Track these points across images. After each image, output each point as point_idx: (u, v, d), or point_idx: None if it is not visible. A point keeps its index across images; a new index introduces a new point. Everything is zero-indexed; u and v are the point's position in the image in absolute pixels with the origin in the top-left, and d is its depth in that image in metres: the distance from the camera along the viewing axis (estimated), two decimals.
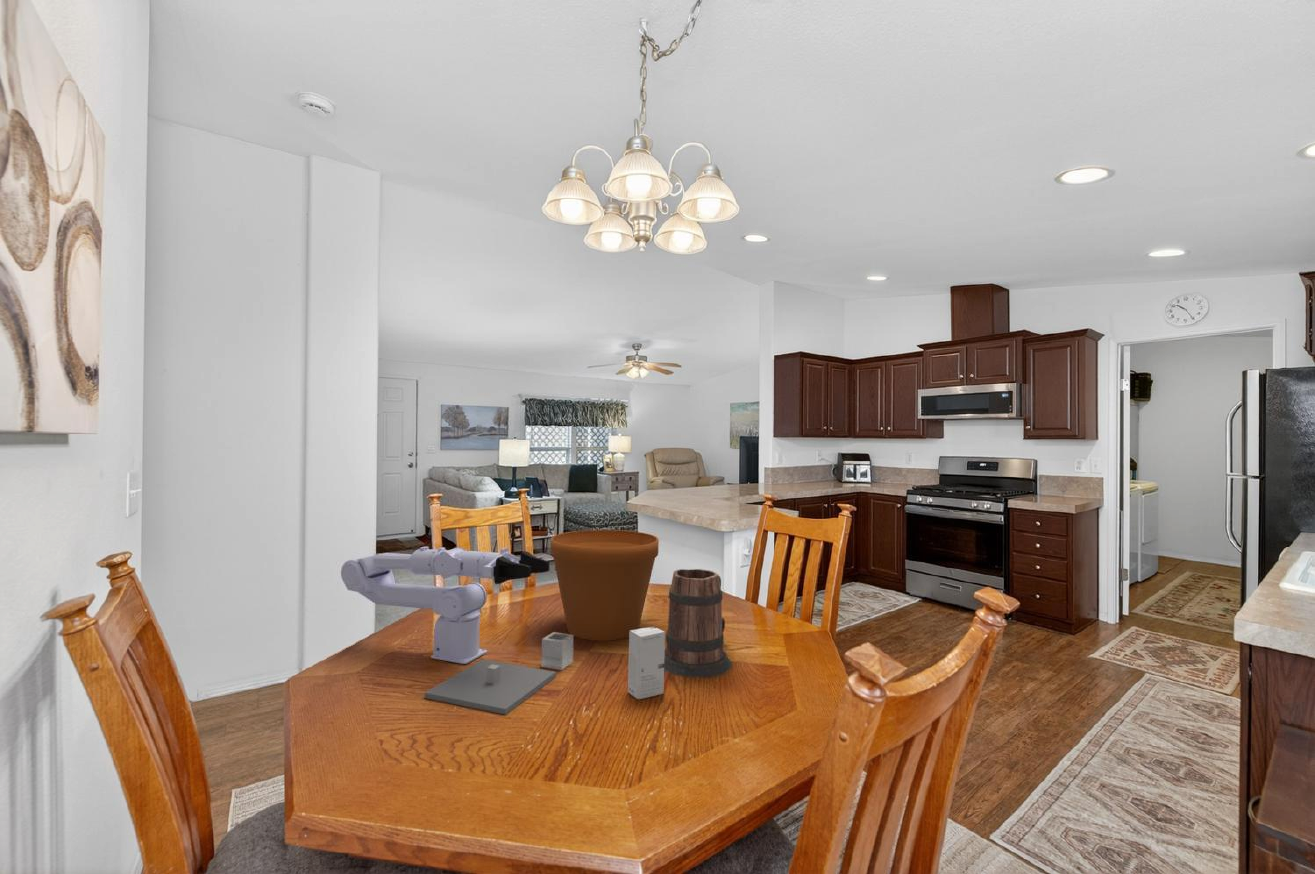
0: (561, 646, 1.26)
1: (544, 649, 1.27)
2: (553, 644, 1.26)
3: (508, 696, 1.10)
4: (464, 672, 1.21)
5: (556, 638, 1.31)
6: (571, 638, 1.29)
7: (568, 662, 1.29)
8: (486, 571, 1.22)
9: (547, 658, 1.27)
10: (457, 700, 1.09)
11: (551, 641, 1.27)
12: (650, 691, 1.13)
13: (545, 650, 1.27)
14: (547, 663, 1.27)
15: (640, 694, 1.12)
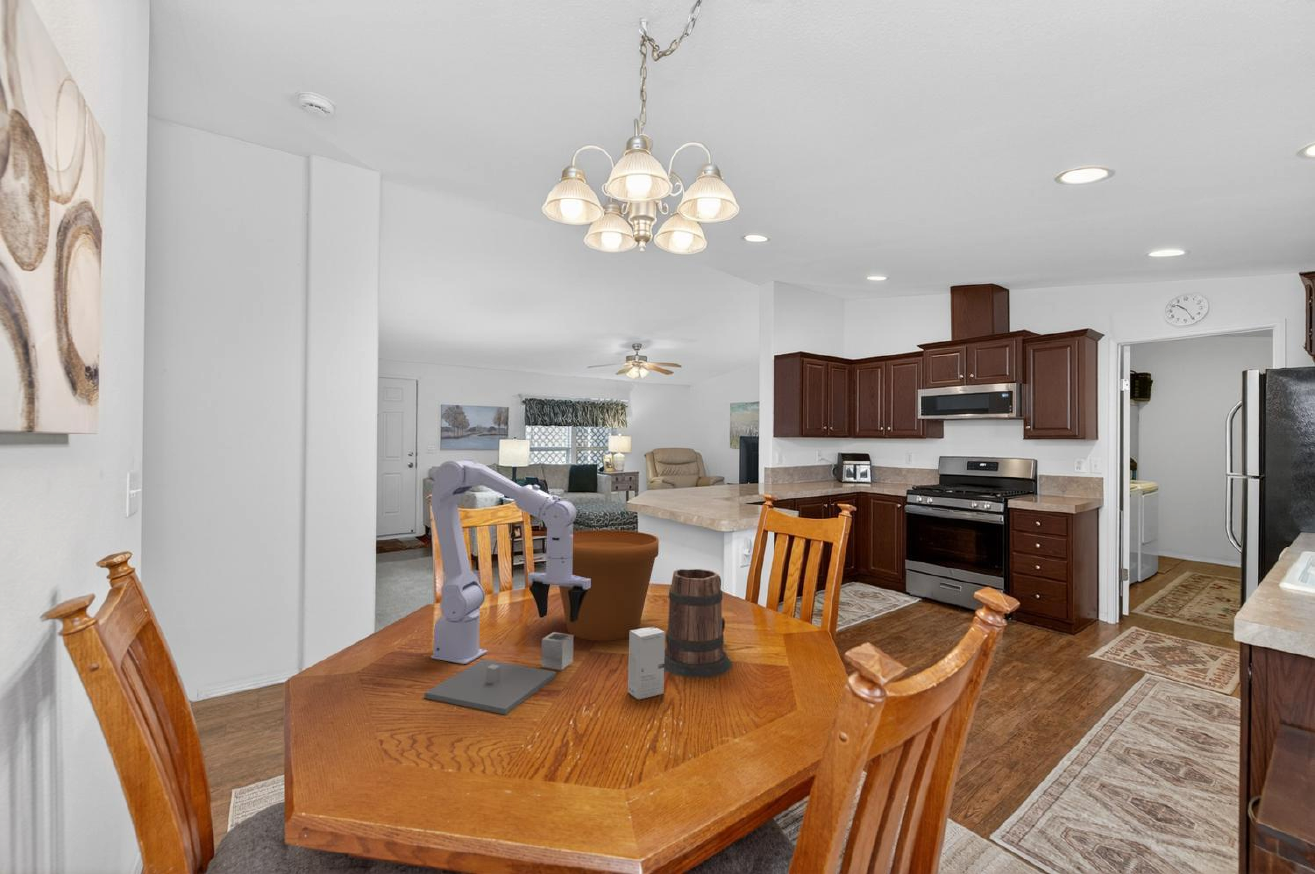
0: (561, 646, 1.26)
1: (544, 649, 1.27)
2: (553, 644, 1.26)
3: (508, 696, 1.10)
4: (464, 672, 1.21)
5: (556, 638, 1.31)
6: (571, 638, 1.29)
7: (568, 662, 1.29)
8: (589, 584, 1.26)
9: (547, 658, 1.27)
10: (457, 700, 1.09)
11: (551, 641, 1.27)
12: (650, 691, 1.13)
13: (545, 650, 1.27)
14: (547, 663, 1.27)
15: (640, 694, 1.12)
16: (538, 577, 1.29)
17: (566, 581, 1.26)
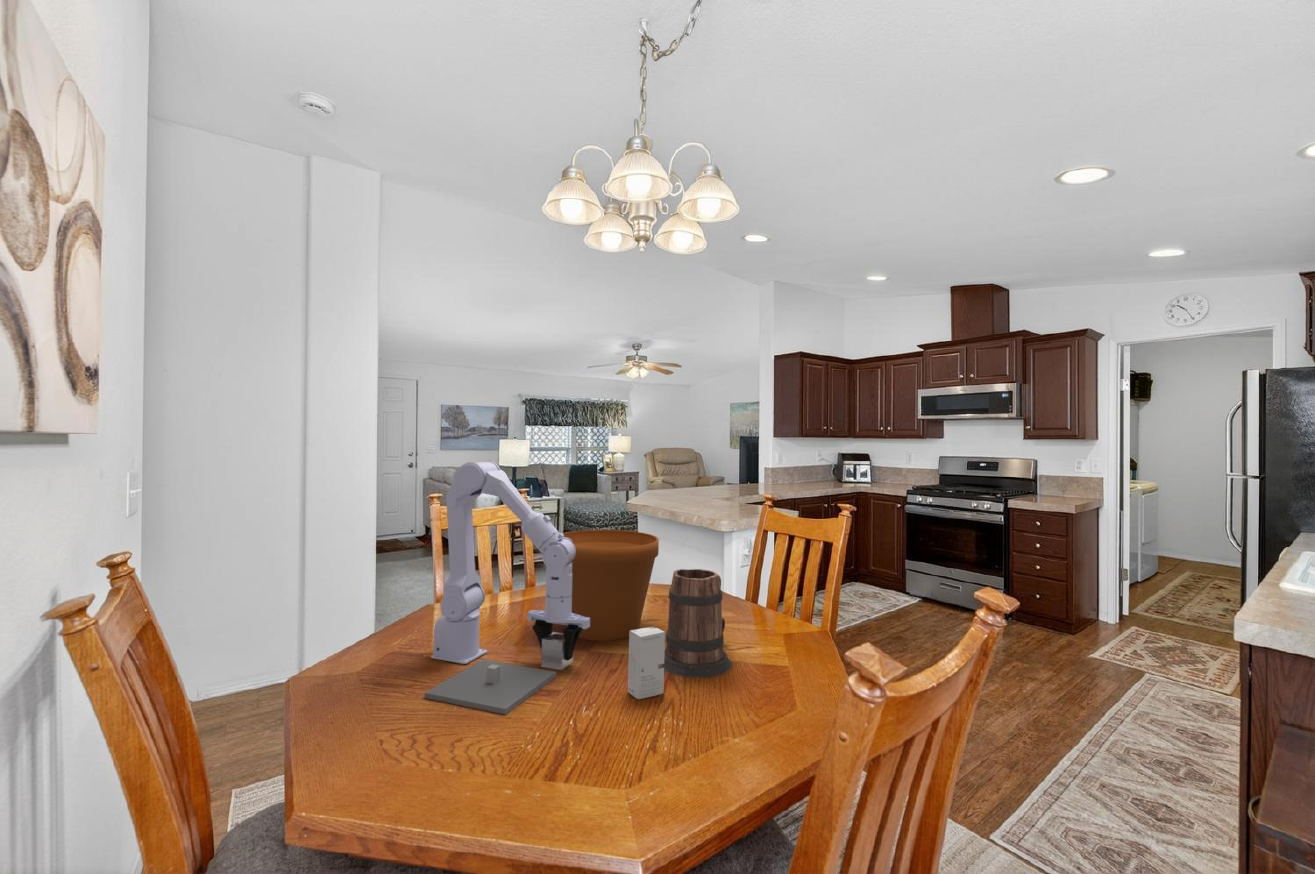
0: (561, 646, 1.26)
1: (544, 649, 1.27)
2: (553, 644, 1.26)
3: (508, 696, 1.10)
4: (464, 672, 1.21)
5: (556, 638, 1.31)
6: None
7: (568, 662, 1.29)
8: (588, 623, 1.26)
9: (547, 658, 1.27)
10: (457, 700, 1.09)
11: (551, 641, 1.27)
12: (650, 691, 1.13)
13: (545, 650, 1.27)
14: (547, 663, 1.27)
15: (640, 694, 1.12)
16: (537, 616, 1.29)
17: (565, 620, 1.26)
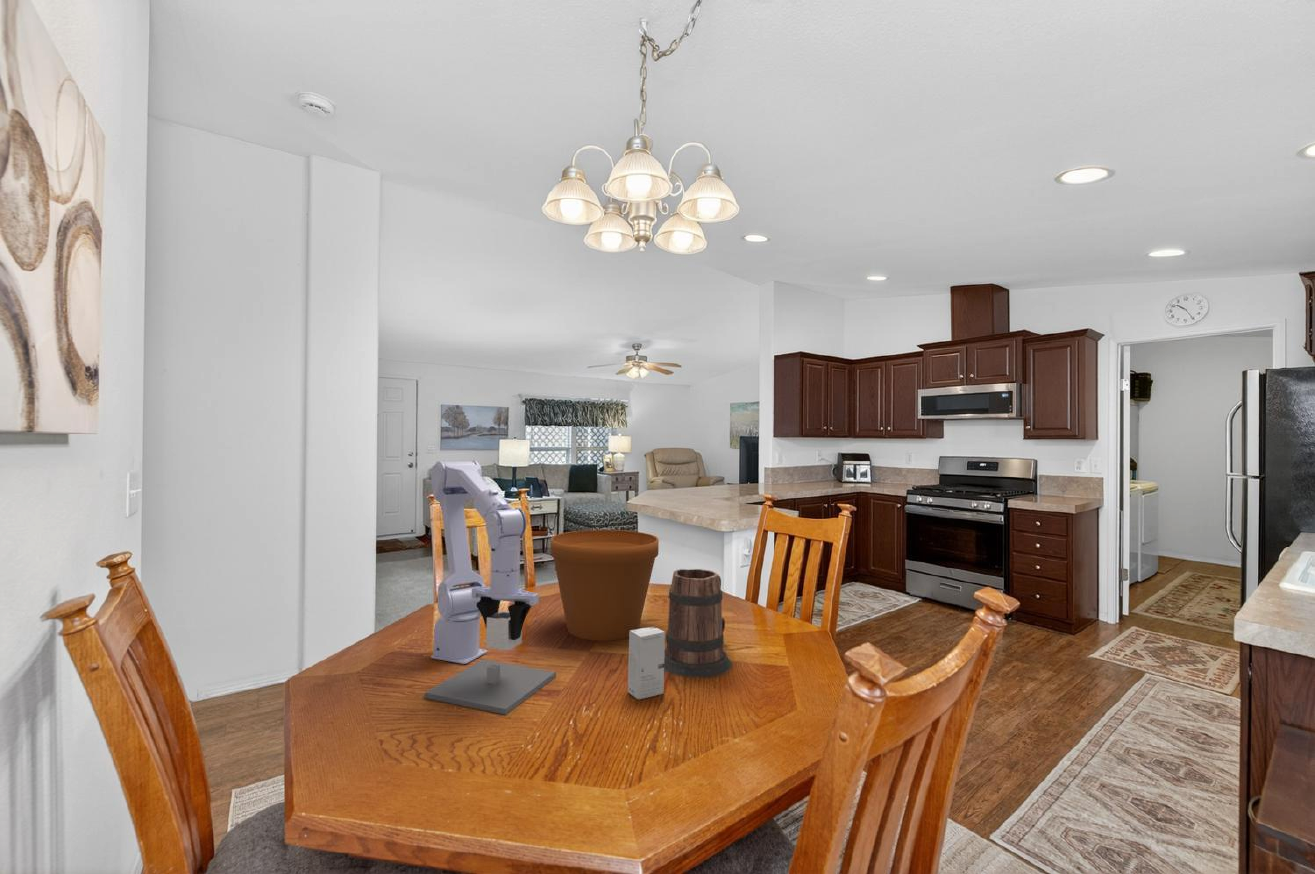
0: (507, 625, 1.15)
1: (489, 628, 1.17)
2: (498, 622, 1.16)
3: (508, 696, 1.10)
4: (464, 672, 1.21)
5: (504, 617, 1.21)
6: None
7: (516, 642, 1.18)
8: (536, 599, 1.16)
9: (492, 638, 1.17)
10: (457, 700, 1.09)
11: (496, 619, 1.16)
12: (650, 691, 1.13)
13: (490, 629, 1.17)
14: (492, 643, 1.16)
15: (640, 694, 1.12)
16: (482, 592, 1.18)
17: (511, 596, 1.15)
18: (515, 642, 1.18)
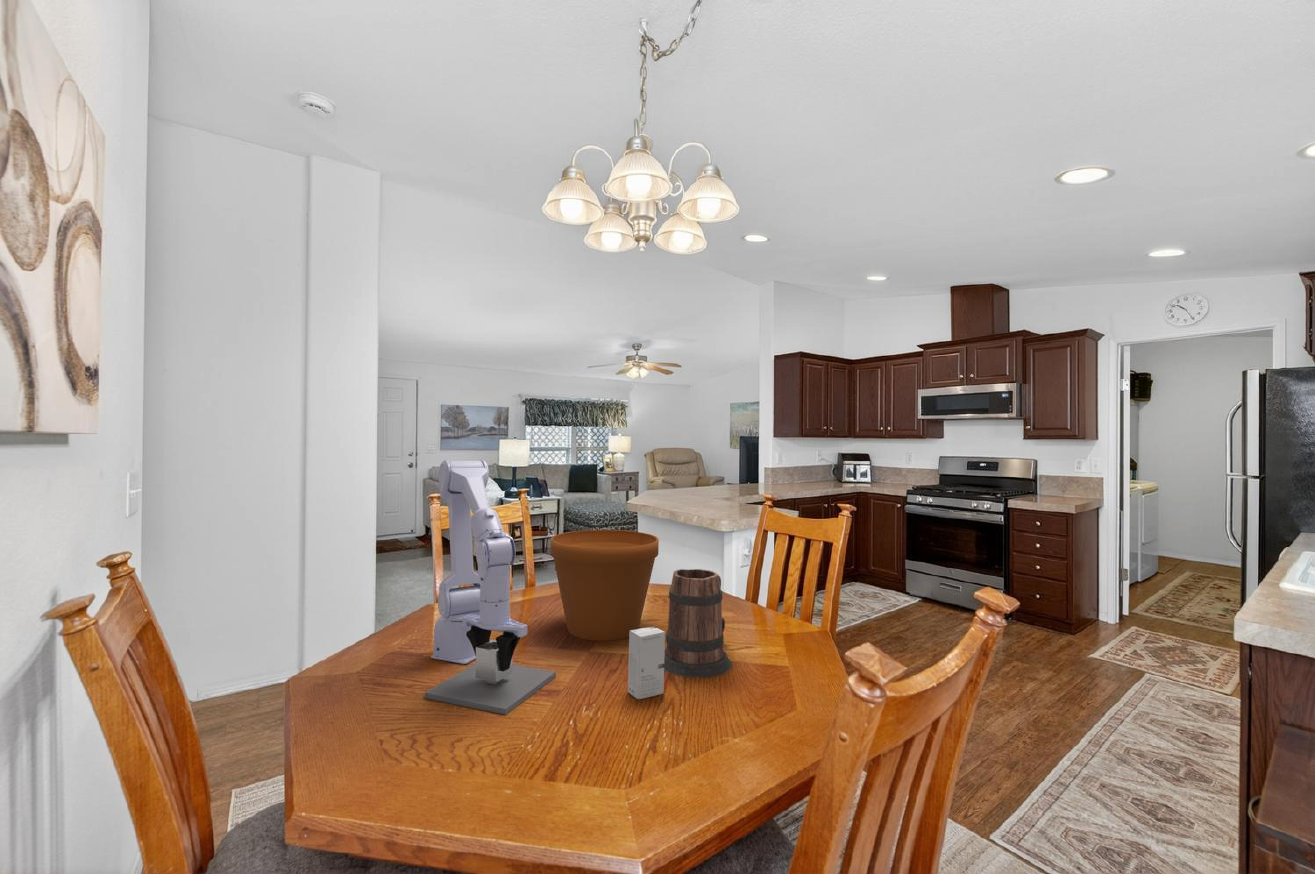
0: (495, 656, 1.14)
1: (478, 658, 1.15)
2: (487, 653, 1.14)
3: (508, 696, 1.10)
4: (464, 672, 1.21)
5: (494, 646, 1.19)
6: None
7: (506, 673, 1.16)
8: (524, 630, 1.14)
9: (481, 669, 1.15)
10: (457, 700, 1.09)
11: (485, 650, 1.15)
12: (650, 691, 1.13)
13: (479, 660, 1.15)
14: (481, 674, 1.15)
15: (640, 694, 1.12)
16: (472, 621, 1.17)
17: (499, 627, 1.14)
18: (504, 673, 1.16)
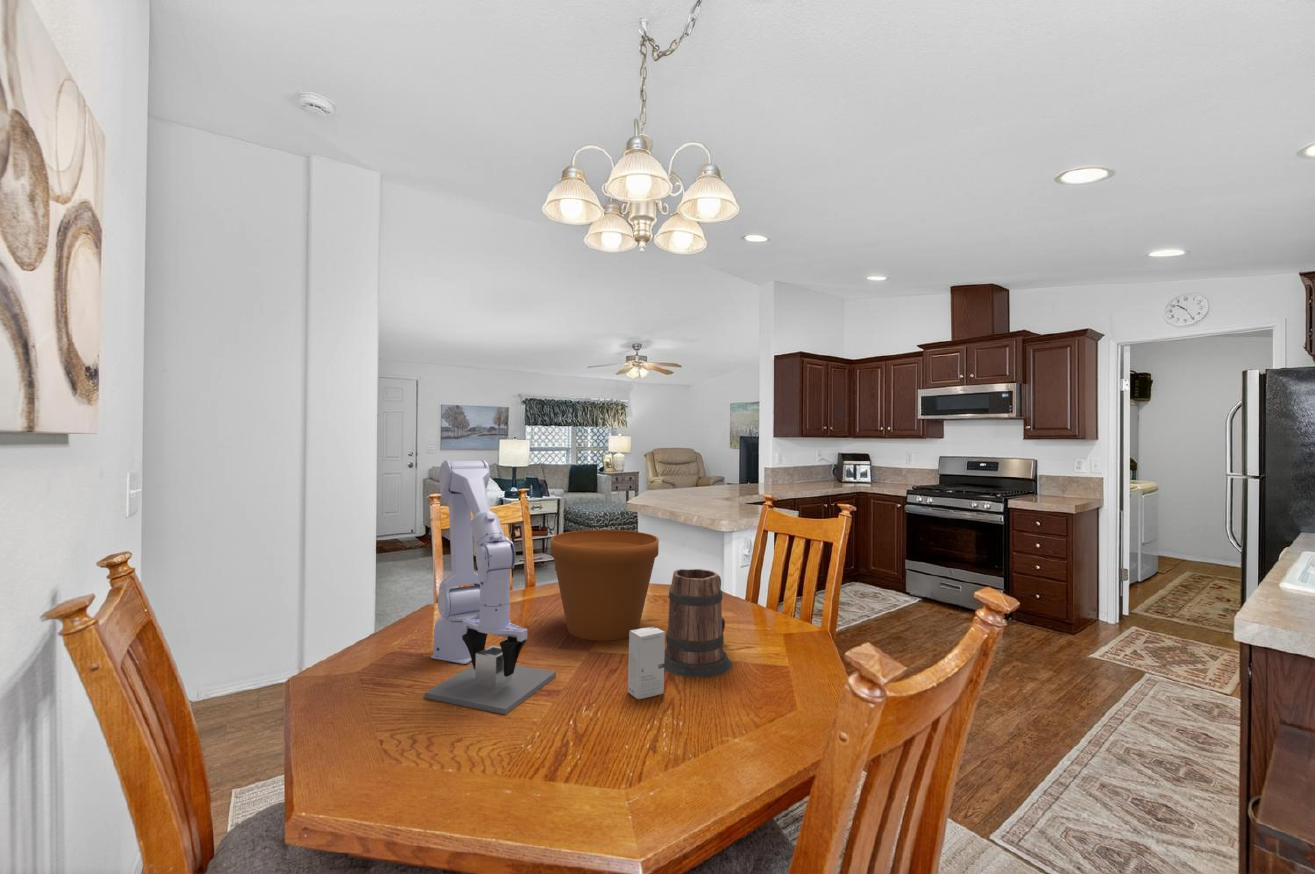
0: (495, 662, 1.14)
1: (478, 664, 1.15)
2: (487, 659, 1.14)
3: (508, 696, 1.10)
4: (464, 672, 1.21)
5: (494, 652, 1.19)
6: None
7: (505, 679, 1.16)
8: (524, 635, 1.14)
9: (481, 675, 1.15)
10: (457, 700, 1.09)
11: (485, 656, 1.15)
12: (650, 691, 1.13)
13: (479, 666, 1.15)
14: (481, 680, 1.15)
15: (640, 694, 1.12)
16: (472, 625, 1.17)
17: (499, 631, 1.14)
18: (504, 679, 1.16)
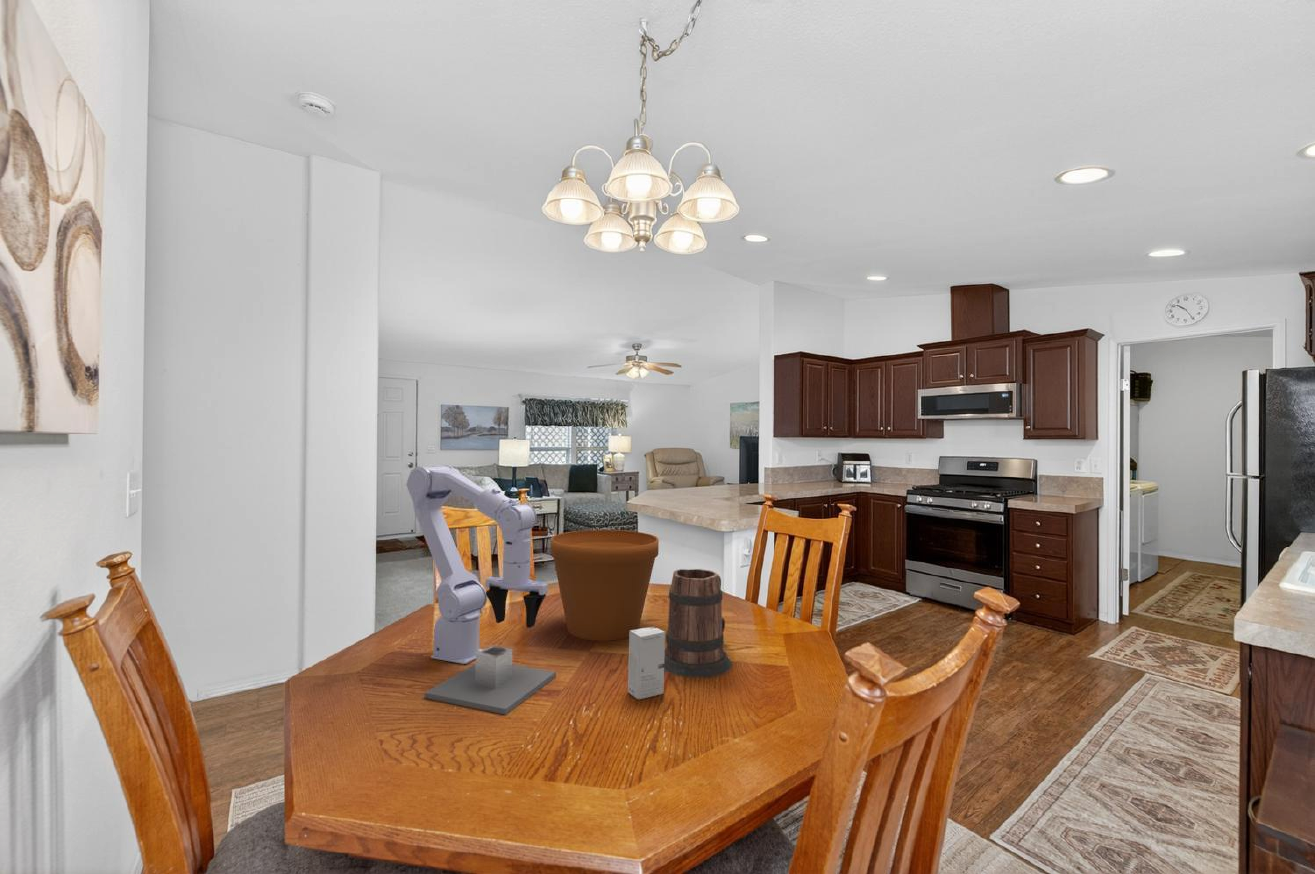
0: (495, 662, 1.14)
1: (478, 664, 1.15)
2: (487, 659, 1.14)
3: (508, 696, 1.10)
4: (464, 672, 1.21)
5: (494, 652, 1.19)
6: (509, 653, 1.17)
7: (505, 679, 1.16)
8: (545, 589, 1.24)
9: (481, 675, 1.15)
10: (457, 700, 1.09)
11: (485, 656, 1.15)
12: (650, 691, 1.13)
13: (479, 666, 1.15)
14: (481, 680, 1.15)
15: (640, 694, 1.12)
16: (495, 582, 1.26)
17: (522, 586, 1.23)
18: (504, 679, 1.16)
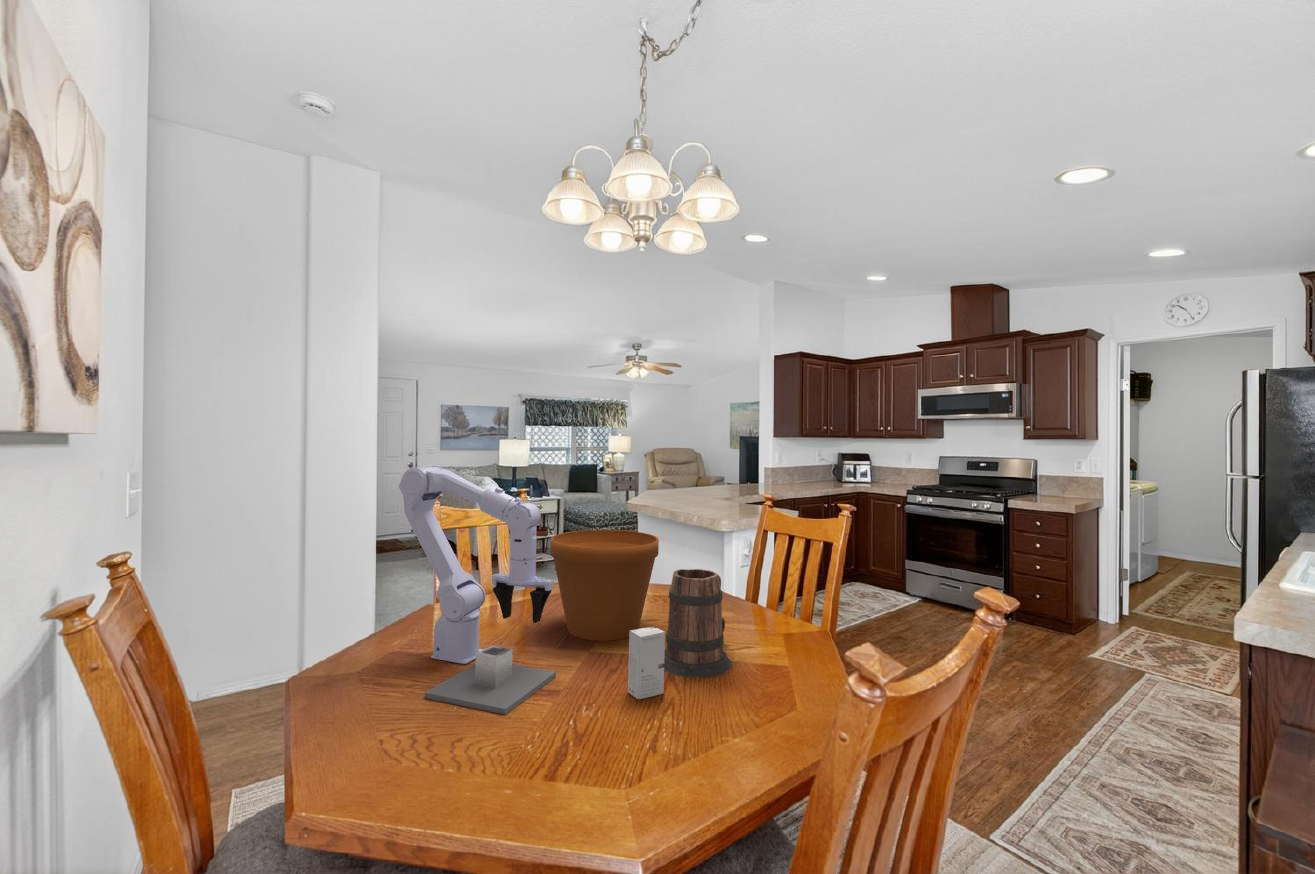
0: (495, 662, 1.14)
1: (478, 664, 1.15)
2: (487, 659, 1.14)
3: (508, 696, 1.10)
4: (464, 672, 1.21)
5: (494, 652, 1.19)
6: (509, 653, 1.17)
7: (505, 679, 1.16)
8: (551, 585, 1.27)
9: (481, 675, 1.15)
10: (457, 700, 1.09)
11: (485, 656, 1.15)
12: (650, 691, 1.13)
13: (479, 666, 1.15)
14: (481, 680, 1.15)
15: (640, 694, 1.12)
16: (501, 578, 1.29)
17: (528, 582, 1.27)
18: (504, 679, 1.16)
